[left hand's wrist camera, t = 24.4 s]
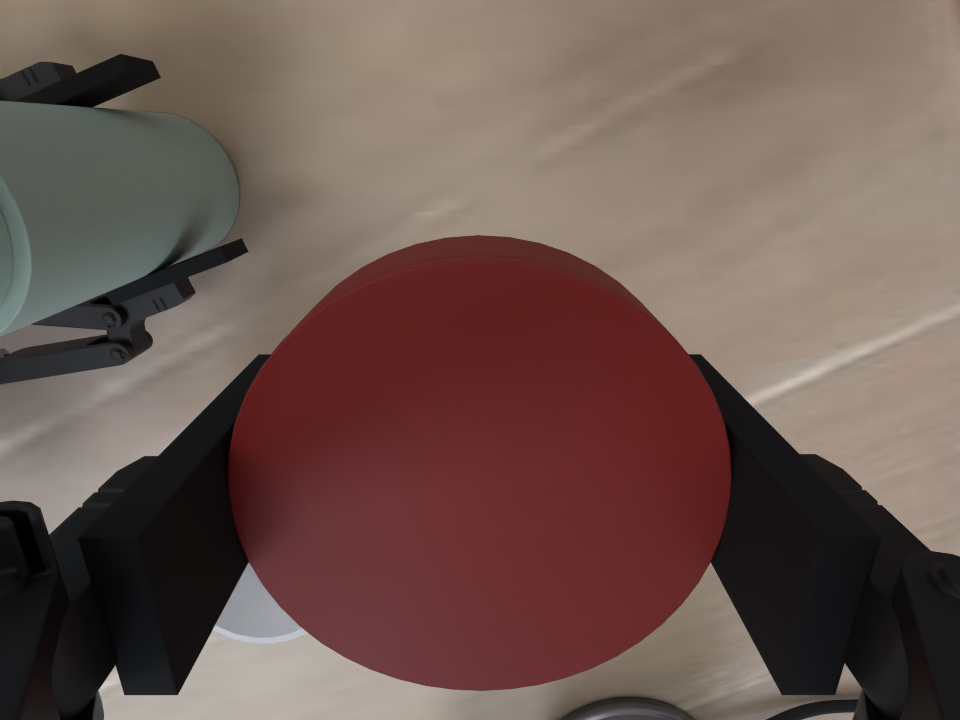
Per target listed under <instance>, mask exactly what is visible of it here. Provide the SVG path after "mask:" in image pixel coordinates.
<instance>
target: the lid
mask: <svg viewBox="0 0 960 720" xmlns="http://www.w3.org/2000/svg"><path fill="white" fill-rule="evenodd" d="M731 483H732V470H731V454H730V446H729V441H728V437H727V432H726V428H725V423H724V419H723V417H722V414H721V412H720V409H719V407H718V404H717V402H716V399H715V397H714V394H713V392H712V390H711V388H710V387H709V385H708V383H707V381H706V380H705V378H704V376H703V375H702V373H701V371H700V370H699V368H698V366H697V365H696V363H695V362H694V361H693V360H692V358H691V357H690V356H689V355H688V354H687V352H686V351H685V350H684V349H683V347H682V346H681V345H680V344H679V343H678V341H677V340H676V339H675V338H674V337H673V336H672V335H671V334H670V333H669V331H668V330H667V329H666V328H665V327H664V326H663V325H662V324H661V323H660V322H659V321H658V320H657V319H656V318H655V317H654V316H653V315H652V313H651V312H650V311H649V310H648V309H647V308H646V307H645V306H644V305H643V304H642V303H641V302H640V301H639V300H638V299H637V298H636V297H635V296H634V295H632V294H631V293H630V292H629V291H628V290H627V289H626V288H625V287H624V286H623V285H622V284H620V283H619V282H618V281H616V280H615V279H613V278H612V277H611V276H609V275H608V274H606V273H605V272H603V271H602V270H600V269H599V268H597V267H596V266H594V265H592V264H590V263H588V262H586V261H584V260H582V259H580V258H578V257H576V256H574V255H572V254H570V253H568V252H565V251H562V250H559V249H556V248H553V247H550V246H547V245H544V244H541V243H537V242H531V241H526V240H521V239H516V238H511V237H497V236H480V235H476V236H463V237H449V238H443V239H438V240H433V241H429V242H424V243H419V244H415V245H412V246H410V247H407V248H404V249H401V250H398V251H395V252H393V253H390V254H387V255H385V256H383V257H381V258H379V259H378V260H376V261H374V262H372V263H370V264H368V265H366V266H364V267H362V268H360V269H359V270H358V271H356V272H355V273H353V274H352V275H351V276H349V277H348V278H346V279H345V280H343V281H342V282H341V283H339V284H338V285H337V286H336V287H335V288H333V289H332V290H331V291H330V292H329V293H328V294H327V295H326V296H325V297H324V298H323V299H322V300H321V301H320V302H319V303H318V304H317V305H316V306H315V307H314V308H313V309H312V310H311V311H310V312H309V313H308V314H307V315H306V316H305V317H304V318H303V319H302V320H301V322H300V323H299V324H298V325H297V326H296V327H295V328H294V329H293V330H292V331H291V332H290V333H289V334H288V335H287V336H286V337H285V338H284V340H283V341H282V342H281V343H280V344H279V345H278V347H277V348H276V349H275V350H274V352H273V353H272V354H271V356H270V357H269V358H268V359H267V361H266V362H265V363H264V364H263V366H262V367H261V368H260V370H259V372H258V374H257V375H256V377H255V379H254V381H253V383H252V384H251V386H250V388H249V390H248V391H247V393H246V395H245V397H244V400H243V403H242V406H241V408H240V411H239V414H238V416H237V419H236V422H235V425H234V430H233V435H232V440H231V445H230V449H229V461H228V489H229V496H230V502H231V508H232V514H233V519H234V524H235V528H236V531H237V535H238V538H239V540H240V543H241V545H242V547H243V550H244V552H245V554H246V557H247V559H248V561H249V563H250V565H251V567H252V568H253V570H254V572H255V573H256V575H257V576H258V578H259V580H260V581H261V583H262V585H263V586H264V587H265V589H266V590H267V591H268V592H269V594H270V595H271V596H272V597H273V599H274V600H275V601H276V602H277V604H278V605H279V606H280V607H281V608H282V609H283V610H284V611H285V612H286V613H287V614H288V615H289V616H290V617H291V618H292V619H293V620H294V621H295V622H296V623H297V624H298V625H299V626H300V627H301V628H303V629H304V630H305V631H307V632H308V633H309V634H310V635H312V636H313V637H314V638H316V639H317V640H318V641H320V642H321V643H322V644H324V645H325V646H327V647H329V648H330V649H332V650H334V651H335V652H337V653H339V654H340V655H342V656H344V657H345V658H347V659H349V660H351V661H354V662H356V663H358V664H360V665H362V666H364V667H366V668H369V669H371V670H373V671H376V672H379V673H382V674H385V675H388V676H391V677H393V678H396V679H400V680H404V681H408V682H412V683H417V684H421V685H425V686H432V687H439V688H446V689H453V690H478V691H485V690H503V689H514V688H521V687H527V686H534V685H539V684H543V683H547V682H551V681H555V680H559V679H563V678H566V677H569V676H572V675H575V674H578V673H580V672H583V671H586V670H589V669H591V668H593V667H595V666H598V665H600V664H602V663H604V662H606V661H608V660H610V659H612V658H614V657H616V656H618V655H619V654H621V653H623V652H624V651H626V650H627V649H629V648H631V647H632V646H634V645H635V644H637V643H639V642H640V641H642V640H643V639H644V638H645V637H647V636H648V635H649V634H650V633H652V632H653V631H654V630H655V629H657V628H658V627H659V626H660V625H662V624H663V623H664V622H665V621H666V620H667V619H668V618H669V617H670V616H671V615H672V614H673V613H674V612H675V611H676V610H677V609H678V608H679V607H680V606H681V605H682V603H683V602H684V601H685V600H686V598H687V597H688V596H689V594H690V593H691V592H692V590H693V589H694V588H695V587H696V585H697V584H698V583H699V581H700V579H701V578H702V576H703V574H704V572H705V571H706V569H707V567H708V565H709V564H710V562H711V560H712V558H713V556H714V554H715V551H716V549H717V546H718V544H719V541H720V539H721V536H722V534H723V530H724V526H725V522H726V516H727V511H728V506H729V500H730V494H731Z"/></svg>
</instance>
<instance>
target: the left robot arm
mask: <svg viewBox="0 0 960 720" xmlns="http://www.w3.org/2000/svg"><path fill="white" fill-rule="evenodd" d="M688 355H689V356H690V357H691V358H692V360H693V361H694V362H695V363H696V365H697V366H698V368H699V370H700V371H701V373H702V375H703V376H704V378H705V380H706V381H707V383H708V385H709V387H710V388H711V390H712V392H713V394H714V397H715V399H716V402H717V404H718V407H719V409H720V412H721V414H722V417H723V419H724V423H725V428H726V432H727V437H728V441H729V446H730V454H731V470H732V483H731V494H730V500H729V506H728V511H727V516H726V522H725V526H724V530H723V534H722V536H721V539H720V541H719V544H718V546H717V549H716V551H715V554H714V556H713V558H712V560H711V563H712V565H713V567H714V569H715V571H716V573H717V575H718V577H719V578H720V580H721V582H722V584H723V586H724V588H725V590H726V591H727V593H728V595H729V597H730V599H731V601H732V603H733V605H734V606H735V608H736V610H737V612H738V614H739V616H740V618H741V619H742V621H743V623H744V625H745V627H746V629H747V631H748V633H749V634H750V636H751V638H752V640H753V642H754V644H755V646H756V647H757V649H758V651H759V653H760V655H761V657H762V659H763V661H764V662H765V664H766V666H767V668H768V670H769V672H770V674H771V675H772V677H773V679H774V681H775V683H776V685H777V687H778V689H779V690H780V692H781V694H782V695H835V693H836V690H837V687H838V683H839V680H840V676H841V673H842V670H843V666H844V663H845V664H846V665H847V667H848V668H849V670H850V671H851V673H852V674H853V676H854V677H855V678H856V680H857V681H858V683H859V684H860V686H861V687H862V691H861V694H860V697H859V699H852V700H829V701H820V702H814V703H809V704H805V705H801V706H798V707H795V708H792V709H789V710H786V711H784V712H782V713H779V714H777V715H775V716H773V717H771V718H768V719H766V720H802V719H805V718H809V717H813V716H817V715H823V714H830V713H844V712H855V713H854V716H853V719H852V720H960V557H959V556H956V555H953V554H948V553H941V552H934V551H930V550H929V549H928V548H927V547H926V546H925V545H924V544H923V543H922V542H921V541H920V540H918V539H917V538H916V537H915V536H914V535H913V534H912V533H911V532H910V531H909V530H908V529H907V528H906V527H904V526H903V525H902V524H901V523H900V522H899V521H898V520H897V519H896V518H895V517H894V516H893V515H892V514H891V513H889V512H888V511H887V510H886V509H885V508H884V507H883V506H882V505H878V503H877V500H875V499H874V498H873V497H872V496H871V495H870V494H869V493H868V492H867V491H866V490H862V486H860V485H859V484H858V483H857V482H856V481H855V480H854V479H853V478H852V477H851V476H850V475H849V474H848V473H846V472H845V471H844V470H843V469H842V468H840V467H838V466H836V465H834V464H832V463H831V462H829V461H827V460H825V459H823V458H822V457H820V456H818V455H816V454H799V453H798V452H797V451H796V450H795V449H794V448H793V447H792V446H791V445H790V444H789V443H788V442H787V441H786V440H785V439H784V438H783V437H782V436H781V435H780V434H779V433H778V432H777V431H776V430H775V429H774V428H773V427H772V426H771V425H770V424H769V423H768V422H767V421H766V420H765V419H764V418H763V417H762V416H761V415H760V414H759V413H758V412H757V411H756V410H755V409H754V408H753V407H752V406H751V405H750V404H749V403H748V402H747V401H746V400H745V399H744V398H743V397H742V396H741V395H740V394H739V393H738V392H737V391H736V390H735V389H734V388H733V387H732V386H731V385H730V384H729V383H728V382H727V381H726V380H725V379H724V378H723V377H722V376H721V374H720V373H719V372H718V371H717V370H716V369H715V368H714V367H713V366H712V365H711V364H710V363H709V362H708V361H707V360H706V359H705V358H704V357H703V356H702V355H701V354H688ZM270 356H271V355H258V356H257V357H256V358H255V359H254V360H253V361H252V362H251V363H250V364H249V365H248V366H247V367H246V368H245V369H244V370H243V371H242V372H241V373H240V374H239V375H238V376H237V377H236V378H235V379H234V380H233V381H232V382H231V383H230V384H229V385H228V386H227V387H226V388H225V389H224V390H223V391H222V392H221V393H220V394H219V395H218V396H217V397H216V398H215V399H214V400H213V401H212V402H211V403H210V404H209V405H208V406H207V407H206V408H205V409H204V410H203V411H202V412H201V414H200V415H199V416H198V417H197V418H196V419H195V420H194V421H193V422H192V423H191V424H190V425H189V426H188V427H187V428H186V429H185V430H184V431H183V432H182V433H181V434H180V435H179V436H178V437H177V438H176V439H175V440H174V441H173V442H172V443H171V444H170V445H169V446H168V447H167V448H166V449H165V450H164V451H163V452H162V453H161V454H160V455H159V456H144V457H142V458H140V459H139V460H137V461H135V462H133V463H131V464H129V465H128V466H126V467H124V468H122V469H120V470H119V471H117V472H116V473H115V474H114V475H113V476H112V477H111V478H109V479H108V480H107V481H106V482H105V483H104V484H103V485H102V486H101V487H100V488H99V489H98V492H95V493H93V494H92V495H91V496H90V497H89V498H88V499H87V500H86V501H85V502H84V503H83V506H82V507H79V508H77V509H76V510H75V511H74V512H73V513H72V514H71V515H70V516H69V517H68V518H67V519H66V520H65V521H64V522H63V523H61V524H60V525H59V526H58V527H57V528H56V529H55V530H54V531H53V532H52V533H51V534H50V535H49V534H48V531H47V528H46V524H45V521H44V518H43V515H42V512H41V509H40V508H39V507H38V506H36V505H34V504H33V503H31V502H22V501H6V502H0V720H104V711H103V705H102V700H101V697H100V694H99V691H98V690H99V688H100V687H101V686H102V684H103V683H104V681H105V680H106V678H107V677H108V675H109V674H110V672H111V671H112V669H113V668H114V666H115V665H116V668H117V671H118V675H119V678H120V681H121V685H122V688H123V691H124V695H178V693H179V692H180V690H181V688H182V686H183V684H184V682H185V680H186V678H187V677H188V675H189V673H190V671H191V669H192V667H193V665H194V664H195V662H196V660H197V658H198V656H199V654H200V652H201V650H202V649H203V647H204V645H205V643H206V641H207V639H208V637H209V636H210V634H211V632H212V630H213V628H214V626H215V624H216V623H217V621H218V619H219V617H220V615H221V613H222V611H223V609H224V608H225V606H226V604H227V602H228V600H229V598H230V596H231V595H232V593H233V591H234V589H235V587H236V585H237V583H238V581H239V580H240V578H241V576H242V574H243V572H244V570H245V568H246V567H247V565H248V563H249V561H248V559H247V557H246V554H245V552H244V550H243V547H242V545H241V543H240V540H239V538H238V535H237V531H236V528H235V524H234V519H233V514H232V508H231V502H230V496H229V489H228V461H229V449H230V445H231V440H232V435H233V430H234V425H235V422H236V419H237V416H238V414H239V411H240V408H241V406H242V403H243V400H244V397H245V395H246V393H247V391H248V390H249V388H250V386H251V384H252V383H253V381H254V379H255V377H256V375H257V374H258V372H259V370H260V368H261V367H262V366H263V364H264V363H265V362H266V361H267V359H268V358H269V357H270ZM561 720H693V719H692V718H691V717H690V716H688V715H687V714H686V713H684V712H683V711H681V710H679V709H677V708H675V707H673V706H671V705H668V704H666V703H662V702H659V701H654V700H650V699H642V698H617V699H610V700H604V701H600V702H596V703H593V704H589V705H587V706H584V707H582V708H579V709H577V710H575V711H573V712H571V713H570V714H568V715H566V716H565V717H564V718H562V719H561Z"/></svg>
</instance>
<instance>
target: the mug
mask: <svg viewBox="0 0 960 720" xmlns="http://www.w3.org/2000/svg"><path fill="white" fill-rule="evenodd" d="M213 631H215V632H217V633H220V634H222V635H224V636H227V637H229V638H232V639H235V640H240V641H245V642H250V643H278V642H283V641H288V640H292V639H295V638H297V637H299V636H301V635H303V634H305V633H308V632H307V631H305V630H304V629H303V628H301V627H300V626H299V625H298V624H297V623H296V622H295V621H294V620H293V619H292V618H291V617H290V616H289V615H288V614H287V613H286V612H285V611H284V610H283V609H282V608H281V607H280V606H279V605H278V604H277V602H276V601H275V600H274V599H273V597H272V596H271V595H270V594H269V592H268V591H267V590H266V589H265V587H264V586H263V585H262V583H261V581H260V580H259V578H258V576H257V575H256V573H255V572H254V570H253V568H252V567H251V565H250V563H248V565H247V567H246V568H245V570H244V572H243V574H242V576H241V578H240V580H239V581H238V583H237V585H236V587H235V589H234V591H233V593H232V595H231V596H230V598H229V600H228V602H227V604H226V606H225V608H224V609H223V611H222V613H221V615H220V617H219V619H218V621H217V623H216V624H215V626H214V628H213Z"/></svg>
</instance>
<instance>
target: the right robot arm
mask: <svg viewBox="0 0 960 720" xmlns="http://www.w3.org/2000/svg"><path fill="white" fill-rule="evenodd" d="M159 78H161V77H160V75H159V73H158V71H157V69H156V67H155V65H154V63H153V61H149V60H145V59H140V58H136V57H131V56H127V55H123V54H120V55H117V56H115V57H113V58H111V59H108V60H106V61H104V62H101V63H99V64H97V65H95V66H92V67H90V68H88V69H86V70H83V71H81V72H79V73H76V72H75V70H74V68H73V66H70V65H65V64H59V63H53V62H39V63H37V64H34V65H32V66H30V67H28V68H25V69H23V70H22V71H19V72H16V73H14V74H12V75H10V76H8V77H5V78H3V79H1V80H0V101H10V102H24V103H38V104H51V105H65V106H79V107H94V106H96V105H99V104H101V103H103V102H106V101H108V100H110V99H113V98H115V97H117V96H120V95H122V94H124V93H127V92H129V91H131V90H133V89H136V88H138V87H140V86H143V85H145V84H147V83H150V82H152V81H154V80H157V79H159ZM247 252H248V250H247V248H246V246H245V244H244V242H243V240H242V238H241V239H238V240H236V241H233V242H231V243H228V244H225V245H223V246H220V247H218V248H215V249H213V250H210V251H207V252H205V253H202V254H200V255H197V256H194V257H192V258H189V259H187V260H184V261H181V262H179V263H176V264H174V265H171V266H168V267H166V268H163V269H161V270H159V271H156V272H154V273H151V274H149V275H147V276H144V277H142V278H140V279H137V280H135V281H133V282H130V283H128V284H125V285H123V286H121V287H118V288H116V289H113V290H111V291H109V292H106V294H102V295H99V296H97V297H94V298H92V299H90V300H87V301H85V302H82V303H80V304H78V305H75V306H73V307H71V308H68V309H66V310H63V311H61V312H59V313H56V314H54V315H51V316H49V317H47V318H44V319H42V320H40V321H37V322H35V323H32V324H31V325H45V326H59V327H73V328H87V329H102V330H107V335H100V336H94V337H88V338H82V339H76V340H70V341H64V342H58V343H51V344H45V345H39V346H33V347H28V348H23V349H20V350H18V351H15V352H13V353H11V354H9V353H8V351H7V350H6V349H0V386H1V385H3V384H5V383H11V382H18V381H24V380H30V379H36V378H43V377H49V376H55V375H61V374H68V373H74V372H80V371H87V370H93V369H99V368H105V367H112V366H118V365H123V364H125V363H127V362H129V361H130V360H132V359H133V358H135V357H136V356H138V355H139V354H141V353H143V352H144V351H146V350H147V349H149V348H150V347H151V346H152V343H153V339H152V336H151V335H150V334H149V333H148V332H147V331H146V330H145V324H144V323H145V319H146V317H149V316H151V315H154V314H157V313H159V312H162V311H165V310H167V309H170V308H173V307H175V306H178V305H179V304H181V303H183V302H185V301H186V300H188V299H190V298H191V297H192V296H193V295H194V294H195V293H196V292H195V290H194V288H193V286H192V284H191V283H190V281H189V279H188V277H189V276H192V275H195V274H197V273H200V272H202V271H205V270H208V269H210V268H213V267H216V266H218V265H221V264H223V263H226V262H229V261H231V260H233V259H235V258H237V257H239V256H241V255H243V254H245V253H247Z"/></svg>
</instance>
